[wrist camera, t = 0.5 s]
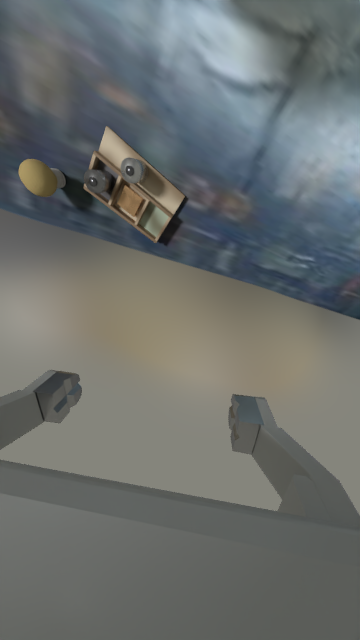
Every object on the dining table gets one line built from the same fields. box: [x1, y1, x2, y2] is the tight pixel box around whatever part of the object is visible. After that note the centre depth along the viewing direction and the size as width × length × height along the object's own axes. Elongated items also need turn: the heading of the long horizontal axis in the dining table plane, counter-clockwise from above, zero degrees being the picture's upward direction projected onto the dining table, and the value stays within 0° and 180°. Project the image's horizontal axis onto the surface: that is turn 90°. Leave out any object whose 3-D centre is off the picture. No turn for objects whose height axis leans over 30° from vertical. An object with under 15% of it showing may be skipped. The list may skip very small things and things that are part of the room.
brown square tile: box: [117, 185, 143, 217], centre depth 44 cm, size 5×5×1 cm
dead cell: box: [84, 169, 115, 193], centre depth 40 cm, size 4×4×7 cm
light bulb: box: [19, 159, 66, 197], centre depth 41 cm, size 6×6×10 cm
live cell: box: [121, 157, 148, 183], centre depth 38 cm, size 4×4×7 cm
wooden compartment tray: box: [83, 126, 185, 243], centre depth 43 cm, size 13×20×3 cm, turn 54°
